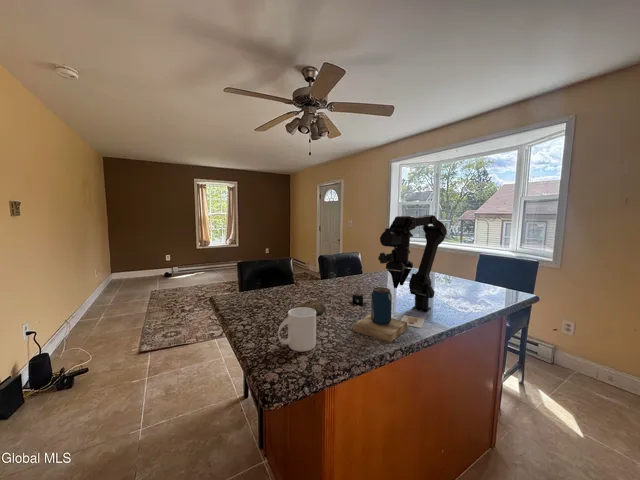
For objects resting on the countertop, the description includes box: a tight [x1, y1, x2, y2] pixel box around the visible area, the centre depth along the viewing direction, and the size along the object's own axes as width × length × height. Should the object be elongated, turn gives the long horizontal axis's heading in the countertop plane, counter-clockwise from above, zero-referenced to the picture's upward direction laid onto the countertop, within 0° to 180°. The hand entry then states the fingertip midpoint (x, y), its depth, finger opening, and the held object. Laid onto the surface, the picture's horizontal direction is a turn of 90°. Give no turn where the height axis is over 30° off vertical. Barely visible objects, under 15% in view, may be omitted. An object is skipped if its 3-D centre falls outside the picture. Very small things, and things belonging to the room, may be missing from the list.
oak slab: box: [352, 313, 408, 343], centre depth 92 cm, size 14×14×3 cm
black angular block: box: [348, 293, 368, 307], centre depth 123 cm, size 12×7×5 cm, turn 43°
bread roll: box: [294, 299, 326, 317], centre depth 112 cm, size 13×12×5 cm
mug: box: [277, 307, 317, 353], centre depth 79 cm, size 9×12×11 cm
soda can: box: [370, 286, 393, 326], centre depth 92 cm, size 7×7×12 cm
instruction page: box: [400, 315, 426, 329], centre depth 100 cm, size 10×8×1 cm
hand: (398, 286), depth 103 cm, fingers open, 9 cm apart
